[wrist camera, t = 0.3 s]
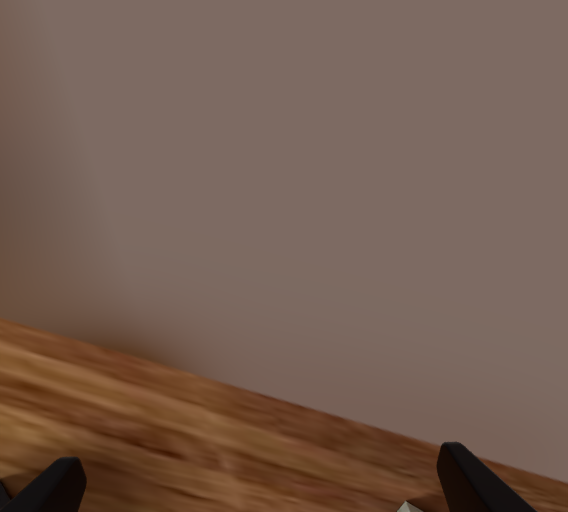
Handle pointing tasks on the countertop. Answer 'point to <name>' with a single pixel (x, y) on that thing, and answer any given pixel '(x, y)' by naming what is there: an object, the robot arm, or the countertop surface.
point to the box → (3, 497)
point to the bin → (408, 508)
